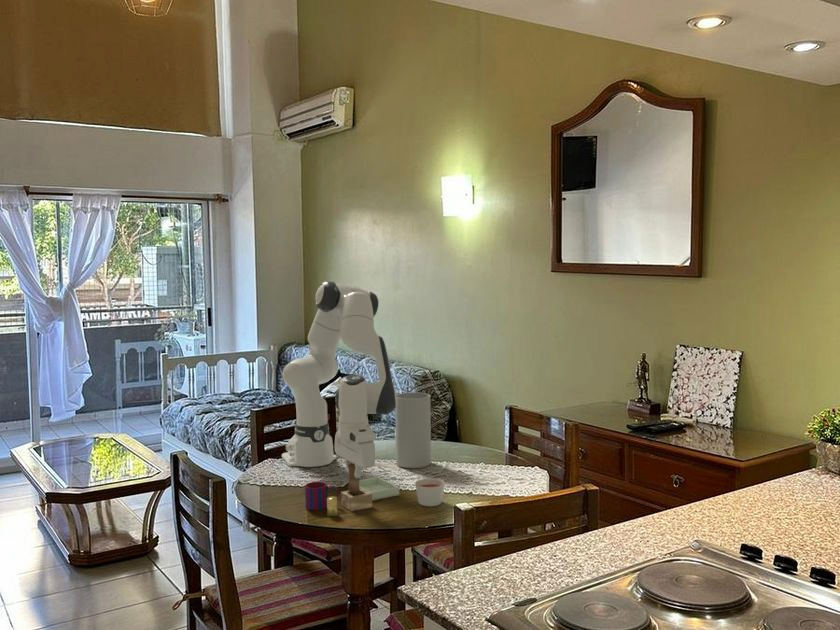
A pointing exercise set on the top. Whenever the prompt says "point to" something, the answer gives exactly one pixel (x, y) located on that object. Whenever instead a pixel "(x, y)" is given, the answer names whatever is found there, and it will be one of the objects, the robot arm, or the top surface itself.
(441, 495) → the candle
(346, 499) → the socket block
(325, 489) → the mug
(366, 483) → the tray
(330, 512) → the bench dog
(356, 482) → the dowel
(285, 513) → the top surface
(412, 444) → the cylinder vase
